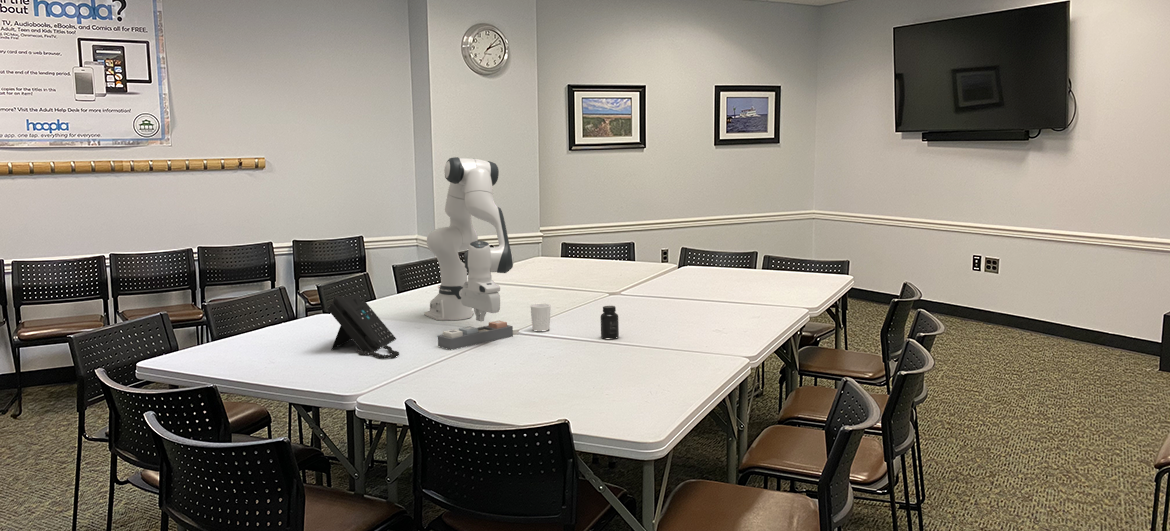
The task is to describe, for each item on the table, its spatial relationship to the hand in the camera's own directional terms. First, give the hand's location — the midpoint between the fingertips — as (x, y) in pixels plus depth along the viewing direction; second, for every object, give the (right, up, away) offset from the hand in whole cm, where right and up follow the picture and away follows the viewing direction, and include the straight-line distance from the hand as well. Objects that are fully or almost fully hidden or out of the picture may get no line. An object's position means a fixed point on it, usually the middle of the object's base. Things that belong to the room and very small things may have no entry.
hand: (480, 320), depth 317 cm
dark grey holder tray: (-1, -8, -2) cm, 8 cm away
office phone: (-38, -10, -10) cm, 40 cm away
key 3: (+1, -7, +1) cm, 7 cm away
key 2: (-4, -5, -4) cm, 8 cm away
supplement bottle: (+49, -7, +2) cm, 49 cm away
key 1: (-9, -6, -9) cm, 14 cm away
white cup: (+22, -5, +16) cm, 28 cm away
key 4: (+6, -3, +5) cm, 9 cm away
